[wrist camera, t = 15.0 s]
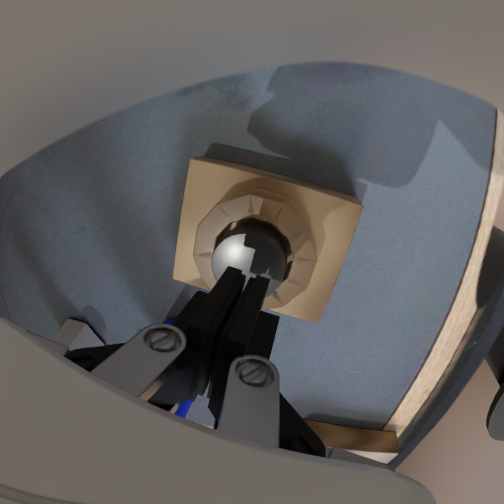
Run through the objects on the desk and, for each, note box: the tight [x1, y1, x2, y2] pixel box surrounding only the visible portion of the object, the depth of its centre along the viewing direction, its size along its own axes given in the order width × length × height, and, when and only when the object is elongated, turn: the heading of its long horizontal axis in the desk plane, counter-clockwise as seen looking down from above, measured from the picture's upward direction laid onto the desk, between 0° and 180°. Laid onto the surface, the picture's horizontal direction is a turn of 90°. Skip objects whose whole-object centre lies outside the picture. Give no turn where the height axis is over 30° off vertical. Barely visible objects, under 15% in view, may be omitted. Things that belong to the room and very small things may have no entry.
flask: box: [54, 319, 105, 351], centre depth 23 cm, size 7×7×10 cm
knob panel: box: [304, 419, 399, 464], centre depth 25 cm, size 11×10×3 cm
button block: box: [173, 156, 363, 323], centre depth 17 cm, size 10×8×4 cm
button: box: [211, 223, 288, 298], centre depth 15 cm, size 4×4×2 cm
